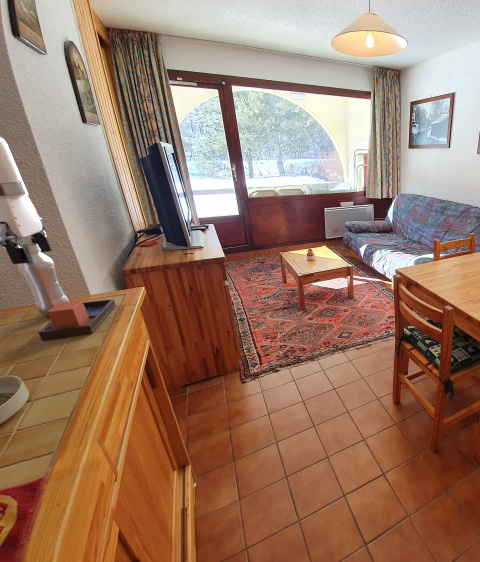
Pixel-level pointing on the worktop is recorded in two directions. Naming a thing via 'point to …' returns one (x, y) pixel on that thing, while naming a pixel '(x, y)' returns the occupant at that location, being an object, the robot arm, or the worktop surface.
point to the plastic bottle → (42, 279)
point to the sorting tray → (96, 315)
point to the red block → (68, 315)
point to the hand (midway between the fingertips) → (33, 257)
